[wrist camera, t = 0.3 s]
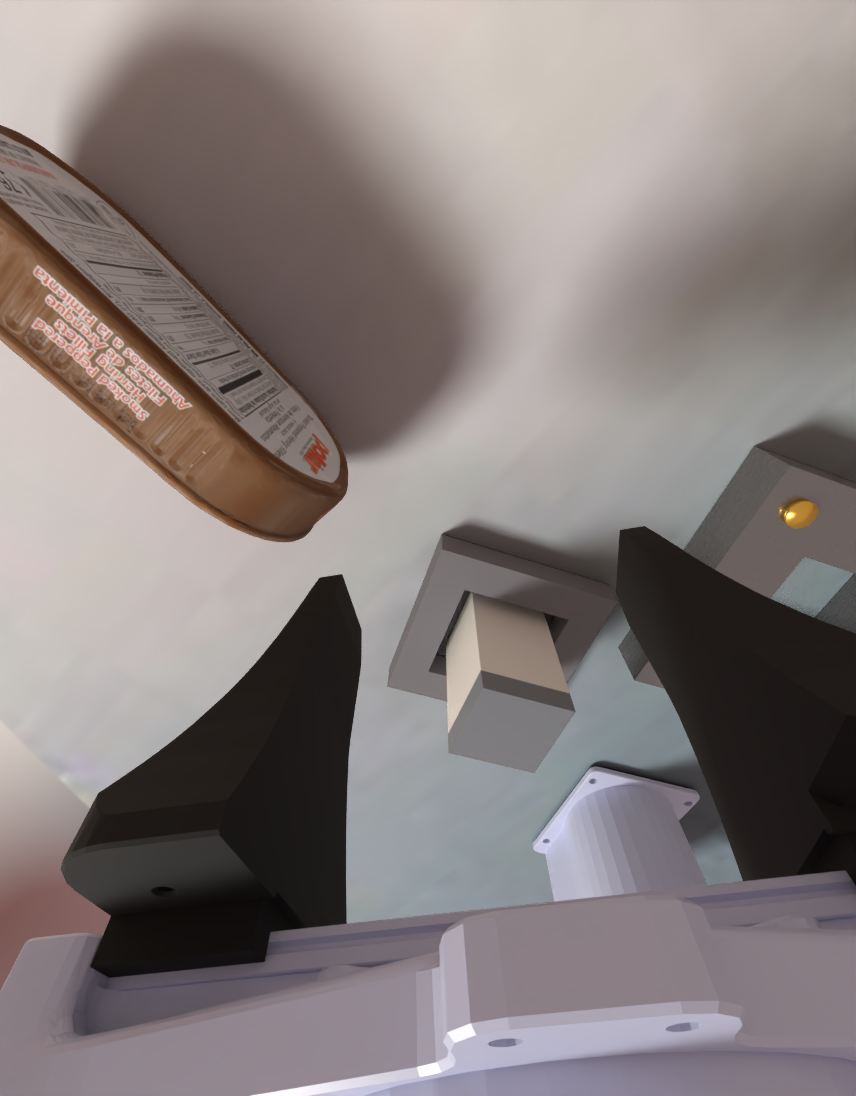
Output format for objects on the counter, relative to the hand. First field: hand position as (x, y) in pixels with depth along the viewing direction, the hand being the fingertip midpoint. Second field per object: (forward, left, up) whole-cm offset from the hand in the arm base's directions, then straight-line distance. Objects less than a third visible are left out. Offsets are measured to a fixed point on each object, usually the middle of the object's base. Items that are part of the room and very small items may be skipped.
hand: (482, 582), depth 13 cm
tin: (+1, +11, -11) cm, 15 cm away
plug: (-9, -5, -10) cm, 14 cm away
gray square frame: (-9, -5, -10) cm, 14 cm away
